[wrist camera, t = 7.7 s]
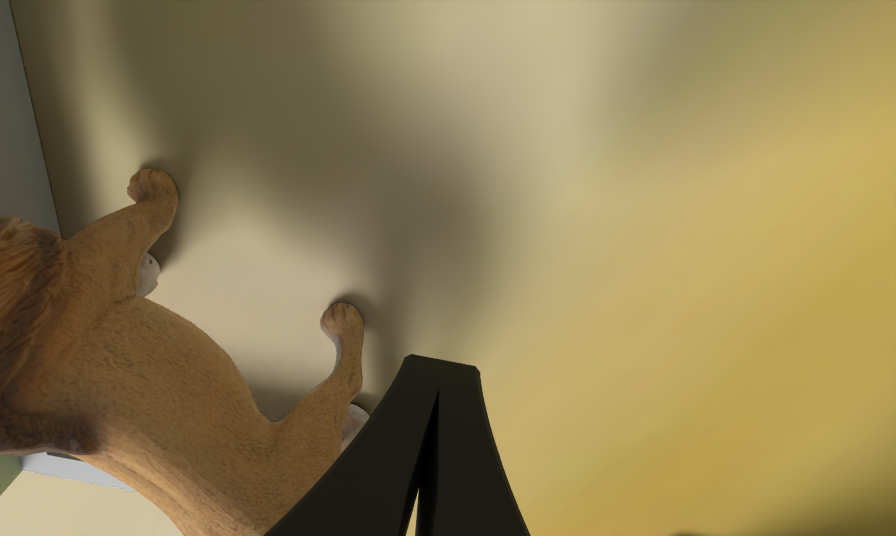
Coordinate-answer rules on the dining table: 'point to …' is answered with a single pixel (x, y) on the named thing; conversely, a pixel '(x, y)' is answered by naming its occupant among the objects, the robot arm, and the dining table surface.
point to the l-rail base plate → (30, 199)
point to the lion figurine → (154, 377)
